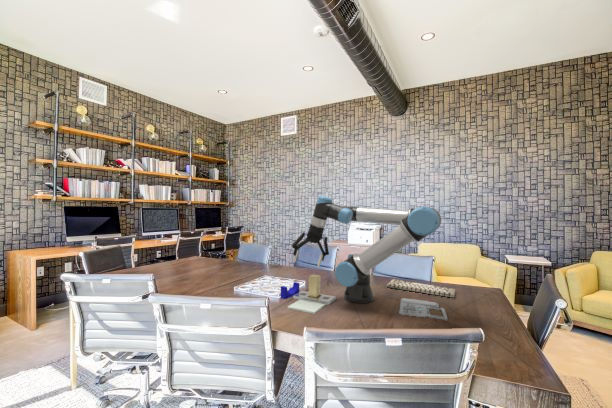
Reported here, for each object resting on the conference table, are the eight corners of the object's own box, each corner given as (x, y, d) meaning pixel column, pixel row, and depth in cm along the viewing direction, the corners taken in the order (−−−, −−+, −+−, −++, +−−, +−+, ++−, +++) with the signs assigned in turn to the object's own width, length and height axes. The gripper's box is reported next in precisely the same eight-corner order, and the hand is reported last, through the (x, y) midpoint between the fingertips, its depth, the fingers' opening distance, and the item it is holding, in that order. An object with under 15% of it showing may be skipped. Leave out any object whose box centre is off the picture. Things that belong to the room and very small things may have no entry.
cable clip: (293, 292, 159) (293, 281, 159) (299, 293, 156) (299, 283, 156) (278, 297, 149) (278, 286, 149) (284, 299, 147) (285, 287, 147)
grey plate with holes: (335, 299, 147) (335, 296, 147) (328, 305, 138) (328, 301, 138) (301, 293, 156) (301, 290, 156) (292, 298, 148) (292, 295, 148)
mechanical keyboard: (456, 292, 166) (456, 286, 166) (455, 301, 150) (455, 295, 150) (390, 283, 184) (390, 278, 185) (383, 290, 168) (383, 284, 168)
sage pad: (324, 305, 137) (324, 304, 137) (314, 314, 126) (314, 312, 126) (299, 301, 144) (299, 299, 144) (287, 308, 133) (287, 306, 133)
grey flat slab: (400, 295, 149) (442, 300, 142) (400, 300, 149) (442, 305, 142) (398, 309, 127) (448, 316, 121) (398, 315, 127) (448, 322, 120)
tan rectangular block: (320, 298, 148) (320, 275, 149) (316, 300, 144) (316, 277, 145) (312, 297, 150) (312, 274, 151) (308, 299, 146) (308, 276, 147)
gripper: (337, 228, 153) (326, 265, 156) (293, 218, 147) (282, 256, 150) (341, 232, 146) (330, 270, 149) (295, 222, 140) (284, 262, 143)
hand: (306, 263), depth 149 cm, fingers open, 13 cm apart
